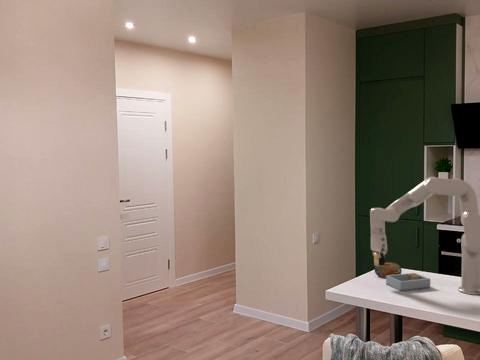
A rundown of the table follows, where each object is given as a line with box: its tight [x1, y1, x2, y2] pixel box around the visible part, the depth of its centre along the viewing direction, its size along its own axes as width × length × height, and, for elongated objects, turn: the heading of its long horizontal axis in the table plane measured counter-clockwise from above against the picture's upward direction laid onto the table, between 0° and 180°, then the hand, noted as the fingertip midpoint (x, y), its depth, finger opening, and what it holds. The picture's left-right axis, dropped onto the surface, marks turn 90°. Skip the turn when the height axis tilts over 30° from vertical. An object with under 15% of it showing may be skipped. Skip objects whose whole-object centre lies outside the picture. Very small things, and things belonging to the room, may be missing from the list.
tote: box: [385, 272, 431, 292], centre depth 266 cm, size 14×18×5 cm
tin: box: [374, 262, 402, 278], centre depth 286 cm, size 15×3×8 cm, turn 73°
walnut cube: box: [407, 273, 422, 281], centre depth 267 cm, size 5×5×5 cm
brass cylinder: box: [373, 252, 384, 266], centre depth 266 cm, size 5×5×7 cm
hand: (378, 263), depth 266 cm, fingers closed on brass cylinder, 5 cm apart
